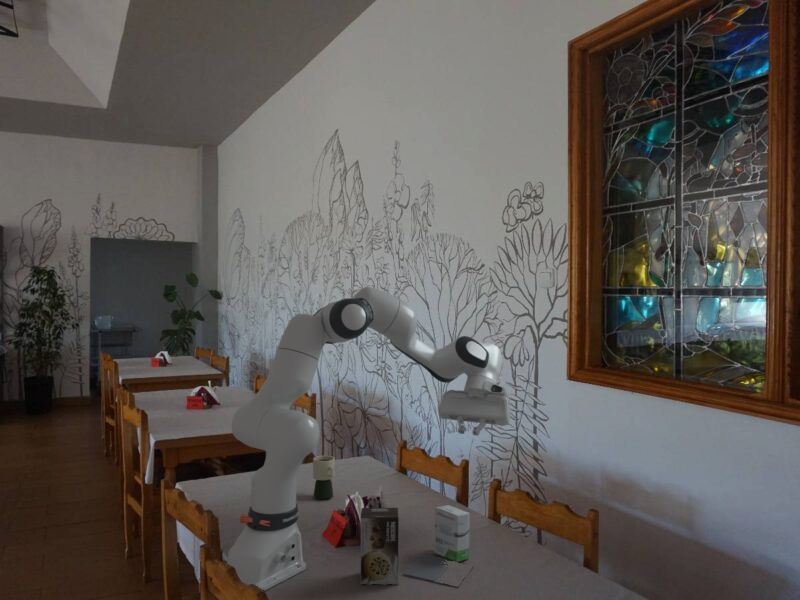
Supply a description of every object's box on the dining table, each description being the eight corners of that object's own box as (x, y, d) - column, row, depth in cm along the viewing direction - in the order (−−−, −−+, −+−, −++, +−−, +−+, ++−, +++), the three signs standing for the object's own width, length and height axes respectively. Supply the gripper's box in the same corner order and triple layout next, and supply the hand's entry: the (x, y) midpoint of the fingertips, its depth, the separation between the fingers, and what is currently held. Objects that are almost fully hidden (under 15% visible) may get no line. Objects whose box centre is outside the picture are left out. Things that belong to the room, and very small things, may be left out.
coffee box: (397, 572, 152) (399, 507, 152) (398, 585, 146) (399, 517, 146) (360, 572, 152) (361, 506, 152) (359, 585, 146) (360, 516, 145)
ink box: (469, 559, 160) (471, 512, 160) (455, 563, 157) (457, 515, 157) (446, 548, 167) (448, 503, 167) (432, 552, 164) (434, 506, 164)
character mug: (341, 500, 202) (342, 460, 202) (322, 505, 198) (323, 464, 197) (324, 491, 211) (324, 452, 210) (305, 495, 206) (306, 456, 206)
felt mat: (458, 587, 145) (458, 585, 145) (403, 575, 151) (403, 573, 151) (473, 566, 156) (473, 565, 156) (421, 555, 162) (421, 554, 162)
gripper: (442, 383, 183) (430, 423, 175) (511, 389, 175) (502, 431, 166) (447, 395, 187) (435, 435, 179) (515, 402, 179) (505, 444, 170)
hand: (468, 433), depth 172 cm, fingers open, 3 cm apart
